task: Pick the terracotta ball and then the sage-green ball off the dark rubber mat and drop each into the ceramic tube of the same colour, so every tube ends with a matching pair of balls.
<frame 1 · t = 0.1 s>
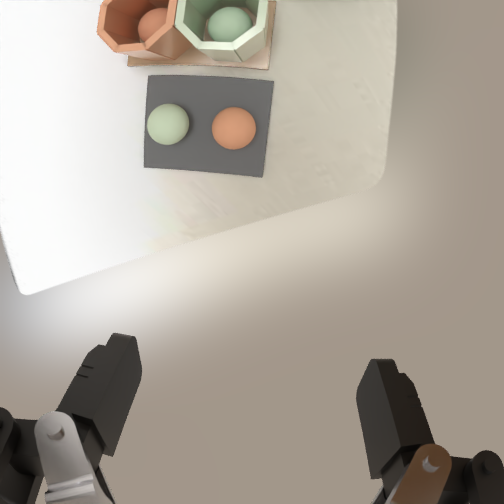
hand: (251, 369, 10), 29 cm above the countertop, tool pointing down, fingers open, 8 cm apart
ball rust: (235, 126, 33), point 1 cm above the countertop, touching mat
tubes: (199, 30, 29), on the countertop
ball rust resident: (165, 30, 28), point 1 cm above the countertop, touching tubes
mat: (205, 123, 34), on the countertop
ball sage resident: (232, 30, 28), point 1 cm above the countertop, touching tubes
ball sage: (173, 122, 33), point 1 cm above the countertop, touching mat
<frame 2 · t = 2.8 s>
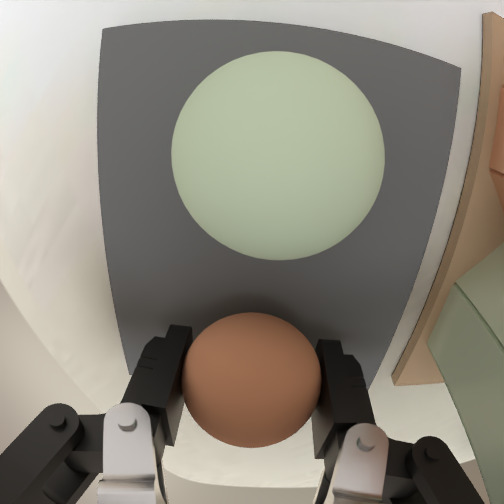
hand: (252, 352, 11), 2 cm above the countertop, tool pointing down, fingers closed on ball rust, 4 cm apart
ball rust: (254, 335, 12), point 1 cm above the countertop, touching gripper, mat
mat: (264, 244, 11), on the countertop
ball sage: (276, 141, 9), point 1 cm above the countertop, touching mat
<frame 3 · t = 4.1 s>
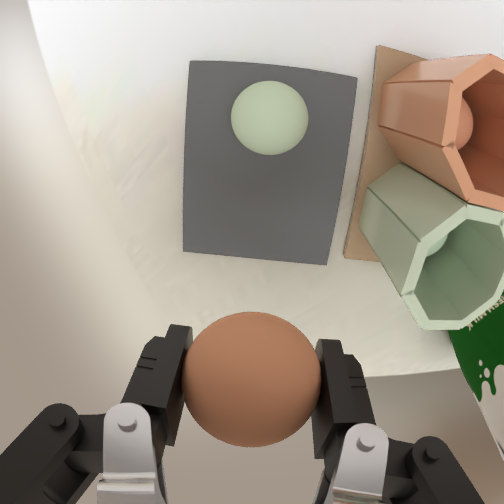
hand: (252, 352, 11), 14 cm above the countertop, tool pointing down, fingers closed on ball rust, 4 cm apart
ball rust: (254, 335, 12), point 13 cm above the countertop, touching gripper
tubes: (414, 163, 21), on the countertop
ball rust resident: (426, 116, 19), point 1 cm above the countertop, touching tubes
mat: (264, 164, 22), on the countertop
milk carton: (473, 309, 27), on the countertop
ball sage: (269, 115, 20), point 1 cm above the countertop, touching mat
when the fingers open (10 cm above the countertop, at t = 5.9 s): ball rust drops 3 cm and tips over, resting on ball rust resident, tubes.
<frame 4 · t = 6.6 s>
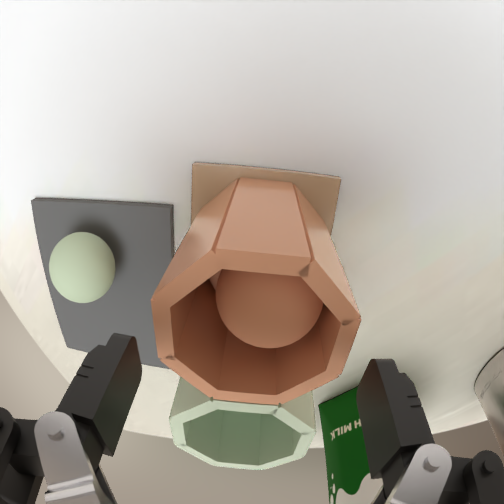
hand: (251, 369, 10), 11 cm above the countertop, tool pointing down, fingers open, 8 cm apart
ball rust: (238, 299, 15), point 6 cm above the countertop, tilted 56°, touching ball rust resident, tubes
tubes: (254, 286, 22), on the countertop
mat: (107, 289, 23), on the countertop
milk carton: (365, 403, 28), on the countertop
ball sage: (97, 251, 20), point 1 cm above the countertop, touching mat
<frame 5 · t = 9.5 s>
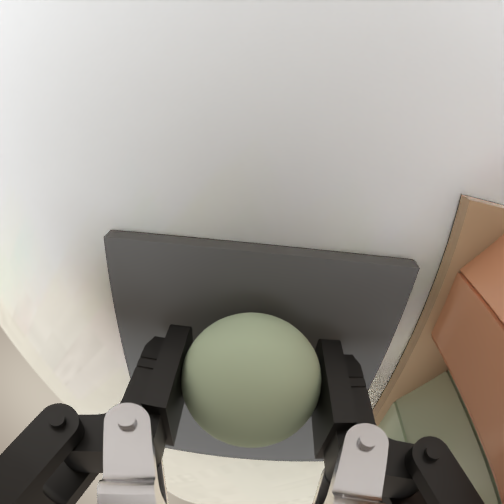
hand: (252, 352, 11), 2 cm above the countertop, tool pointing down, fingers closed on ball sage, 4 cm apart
tubes: (465, 359, 13), on the countertop
mat: (248, 382, 14), on the countertop
ball sage: (254, 335, 12), point 1 cm above the countertop, touching gripper, mat
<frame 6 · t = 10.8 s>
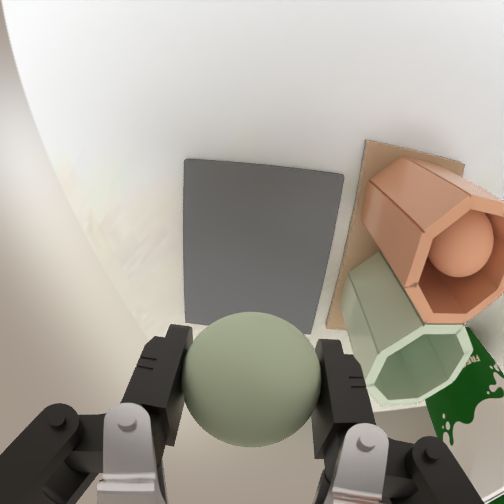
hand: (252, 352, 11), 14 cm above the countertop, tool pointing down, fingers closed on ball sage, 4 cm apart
ball rust: (426, 246, 18), point 6 cm above the countertop, tilted 56°, touching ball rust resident, tubes
tubes: (394, 248, 24), on the countertop
mat: (255, 254, 25), on the countertop
milk carton: (448, 358, 30), on the countertop
ball sage: (254, 335, 12), point 13 cm above the countertop, touching gripper
when the fingers open (10 cm above the countertop, at t = 12.5 s): ball sage drops 3 cm and tips over, resting on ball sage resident, tubes.
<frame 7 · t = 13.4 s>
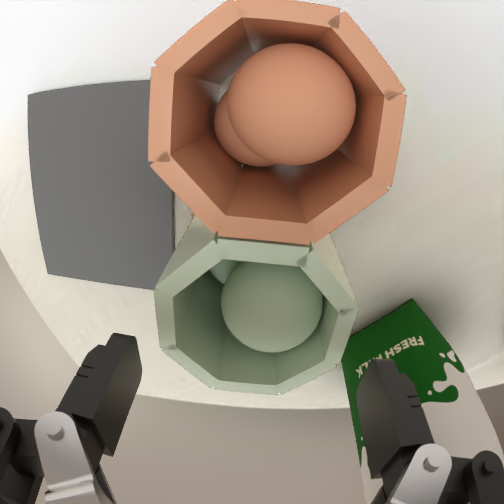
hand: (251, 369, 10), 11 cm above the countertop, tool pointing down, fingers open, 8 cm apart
ball rust: (252, 132, 12), point 6 cm above the countertop, tilted 56°, touching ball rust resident, tubes
tubes: (265, 172, 19), on the countertop
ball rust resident: (272, 110, 16), point 1 cm above the countertop, tilted 19°, touching ball rust, tubes
mat: (97, 189, 20), on the countertop
milk carton: (390, 343, 25), on the countertop
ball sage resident: (259, 235, 20), point 1 cm above the countertop, tilted 19°, touching ball sage, tubes
ball sage: (232, 277, 15), point 6 cm above the countertop, tilted 57°, touching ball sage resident, tubes
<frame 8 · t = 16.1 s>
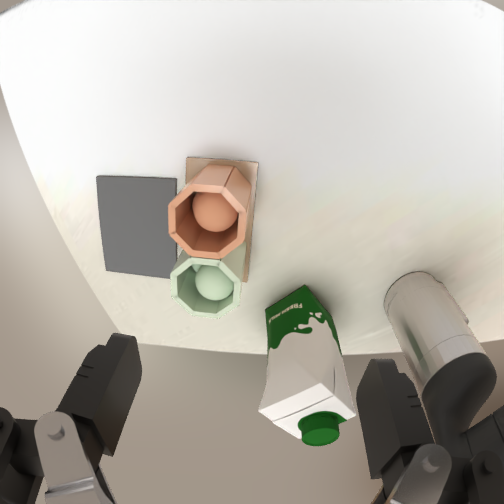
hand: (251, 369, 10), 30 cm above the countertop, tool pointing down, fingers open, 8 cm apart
ball rust: (205, 216, 34), point 6 cm above the countertop, tilted 56°, touching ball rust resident, tubes
tubes: (218, 222, 40), on the countertop
mat: (137, 227, 41), on the countertop
milk carton: (298, 311, 46), on the countertop
ball sage: (200, 270, 37), point 6 cm above the countertop, tilted 57°, touching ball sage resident, tubes
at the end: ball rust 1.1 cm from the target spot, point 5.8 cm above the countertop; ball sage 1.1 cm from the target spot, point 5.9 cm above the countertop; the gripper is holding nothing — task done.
